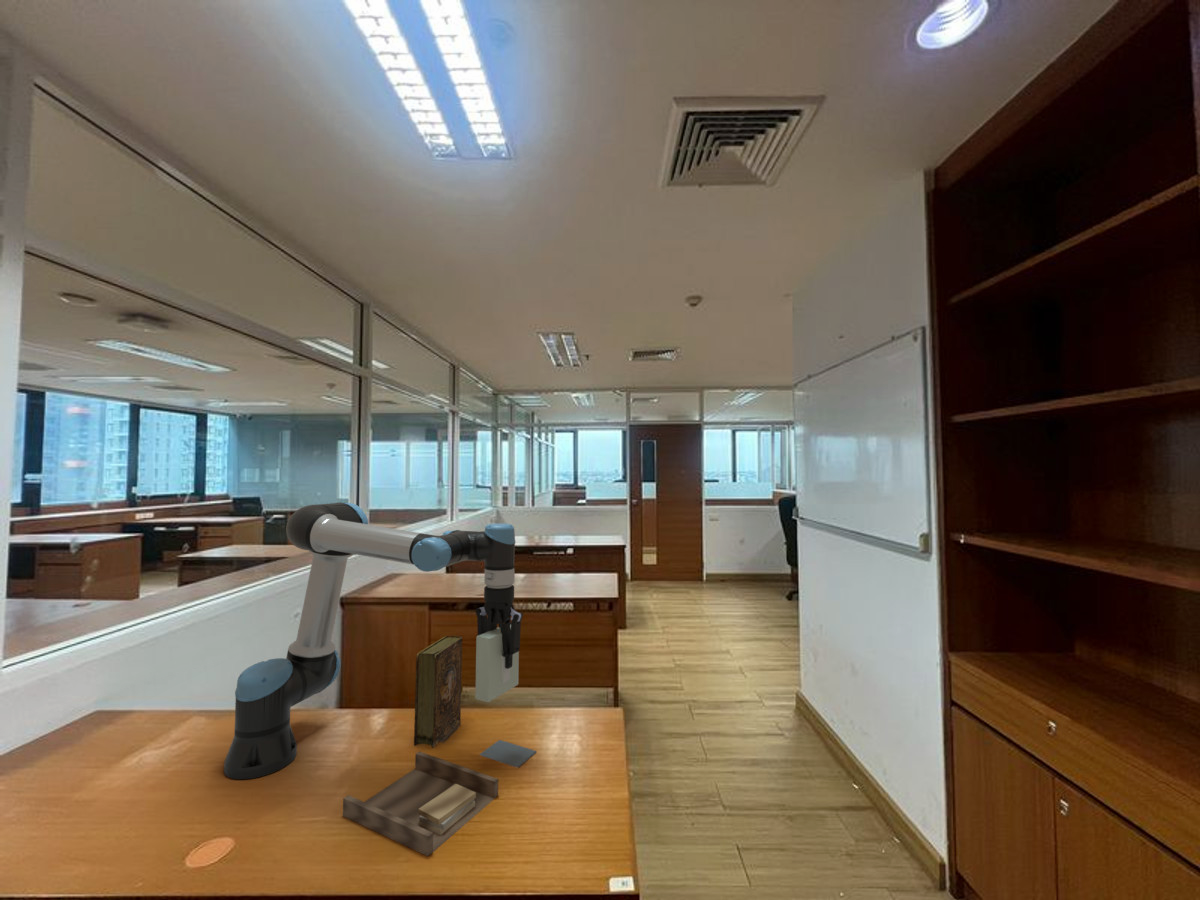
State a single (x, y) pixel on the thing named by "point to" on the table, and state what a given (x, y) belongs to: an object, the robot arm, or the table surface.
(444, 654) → the book
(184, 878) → the table surface
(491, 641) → the upright sage slab
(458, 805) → the offcut oak
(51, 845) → the table surface
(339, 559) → the robot arm
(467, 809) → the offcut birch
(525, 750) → the mat
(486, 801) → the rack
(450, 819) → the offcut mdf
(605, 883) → the table surface
